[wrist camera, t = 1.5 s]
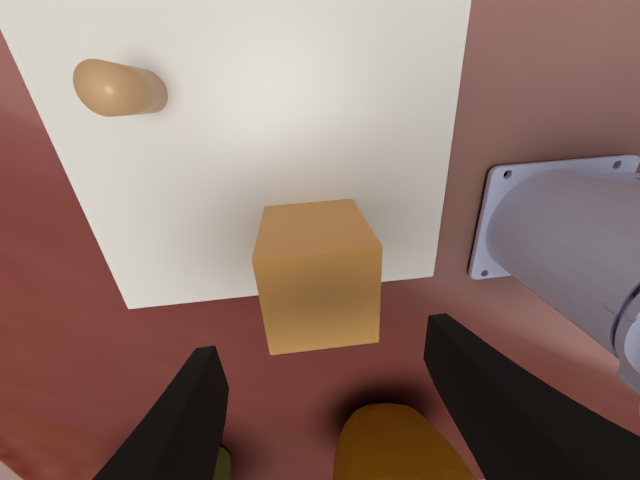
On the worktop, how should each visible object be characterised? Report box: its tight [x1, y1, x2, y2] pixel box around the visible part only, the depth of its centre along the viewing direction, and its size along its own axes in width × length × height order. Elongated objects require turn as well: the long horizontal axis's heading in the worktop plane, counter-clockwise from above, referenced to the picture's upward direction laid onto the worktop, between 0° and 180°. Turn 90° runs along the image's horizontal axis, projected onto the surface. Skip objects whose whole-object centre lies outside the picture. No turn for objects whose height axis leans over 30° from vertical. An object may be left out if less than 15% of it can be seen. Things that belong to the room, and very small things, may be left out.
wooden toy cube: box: [252, 199, 383, 355], centre depth 15 cm, size 5×5×6 cm
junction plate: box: [0, 0, 471, 309], centre depth 14 cm, size 20×16×4 cm
